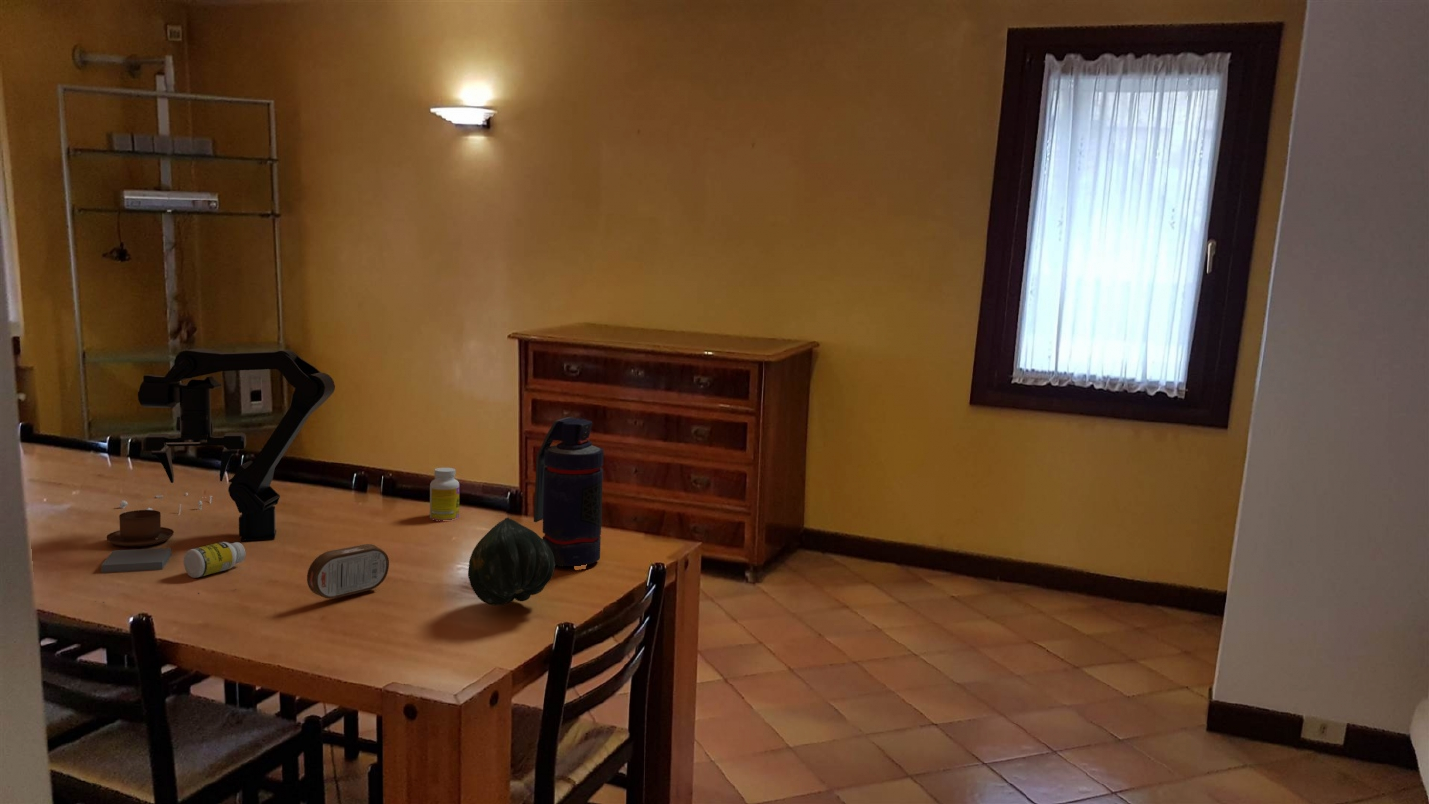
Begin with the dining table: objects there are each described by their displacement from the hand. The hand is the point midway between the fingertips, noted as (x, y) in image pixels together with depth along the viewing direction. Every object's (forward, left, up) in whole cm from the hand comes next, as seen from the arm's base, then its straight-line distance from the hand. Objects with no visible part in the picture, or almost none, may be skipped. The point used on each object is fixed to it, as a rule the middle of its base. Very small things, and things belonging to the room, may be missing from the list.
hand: (197, 481), depth 205 cm
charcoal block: (+8, +18, -12) cm, 23 cm away
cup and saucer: (+10, +2, -12) cm, 16 cm away
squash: (-57, +58, -12) cm, 82 cm away
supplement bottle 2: (-51, -2, -12) cm, 53 cm away
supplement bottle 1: (-3, +30, -9) cm, 32 cm away
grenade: (-72, +35, -12) cm, 81 cm away
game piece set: (+9, -26, -13) cm, 30 cm away
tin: (-30, +45, -12) cm, 55 cm away
